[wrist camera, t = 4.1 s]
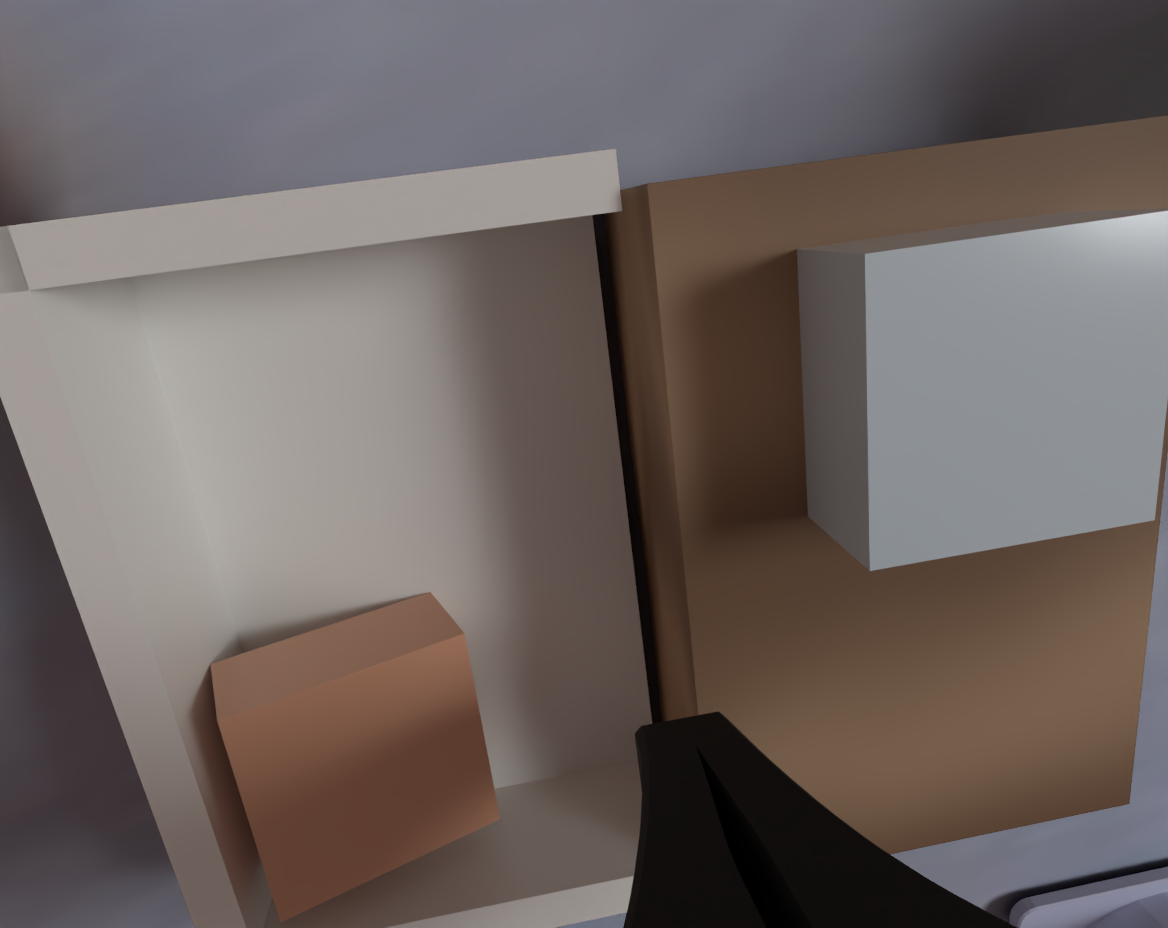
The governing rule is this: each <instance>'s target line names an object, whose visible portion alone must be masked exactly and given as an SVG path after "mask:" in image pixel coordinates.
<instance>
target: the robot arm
mask: <svg viewBox="0 0 1168 928" xmlns="http://www.w3.org/2000/svg"><path fill="white" fill-rule="evenodd" d="M635 741H636V749H637V757H638V765H639V773H640V781H641V790H642V803H641V822H640V834H639V841H638V849H637V856H636V864H635V871H634V878H633V884H632V889H631V895H630V900H629V905H628V910H627V914H626V919H625V923H624V928H1168V867H1163V868H1159V869H1154V870H1150V871H1145V872H1140V873H1136V874H1131V875H1127V876H1122V877H1118V878H1113V879H1109V880H1104V881H1099V882H1095V883H1090V884H1086V885H1081V886H1077V887H1072V888H1067V889H1063V890H1058V891H1054V892H1049V893H1045V894H1040V895H1036V896H1031V897H1027V898H1024V899H1021V900H1020V901H1018V902H1017V903H1016V904H1015V905H1014V906H1013V908H1012V909H1011V913H1010V916H1009V923H1007V922H1005V921H1003V920H1001V919H999V918H997V917H995V916H994V915H992V914H990V913H988V912H986V911H984V910H983V909H981V908H979V907H977V906H975V905H973V904H971V903H970V902H968V901H966V900H964V899H962V898H960V897H959V896H957V895H955V894H953V893H951V892H949V891H948V890H946V889H944V888H943V887H941V886H939V885H937V884H936V883H934V882H932V881H931V880H929V879H927V878H926V877H924V876H922V875H921V874H919V873H918V872H916V871H914V870H913V869H911V868H910V867H908V866H907V865H905V864H904V863H902V862H900V861H899V860H897V859H896V858H894V857H893V856H891V855H890V854H888V853H887V852H885V851H884V850H882V849H881V848H879V847H878V846H877V845H875V844H874V843H872V842H871V841H870V840H868V839H867V838H865V837H864V836H863V835H861V834H860V833H859V832H857V831H856V830H855V829H853V828H852V827H851V826H849V825H848V824H847V823H845V822H844V821H843V820H841V819H840V818H839V817H837V816H836V815H835V814H834V813H832V812H831V811H830V810H829V809H827V808H826V807H825V806H824V805H822V804H821V803H820V802H819V801H817V800H816V799H815V798H814V797H813V796H811V795H810V794H809V793H808V792H807V791H805V790H804V789H803V788H802V787H801V786H800V785H798V784H797V783H796V782H795V781H794V780H793V779H791V778H790V777H789V776H788V775H787V774H786V773H784V772H783V771H782V770H781V769H780V768H779V767H778V766H777V765H775V764H774V763H773V762H772V761H771V760H770V759H769V758H768V757H767V756H766V755H765V754H764V753H762V752H761V751H760V750H759V749H758V748H757V747H756V746H755V745H754V744H753V743H752V742H751V741H750V740H749V739H748V738H747V737H746V736H745V735H744V734H743V733H742V732H741V731H740V730H738V729H737V728H736V727H735V726H734V725H733V724H732V723H731V722H730V721H729V720H728V719H727V718H726V717H725V716H724V715H723V714H721V713H720V712H719V711H717V712H712V713H707V714H702V715H696V716H691V717H686V718H680V719H675V720H670V721H665V722H659V723H654V724H649V725H643V726H641V727H640V728H639V729H638V730H637V731H636V733H635Z"/></svg>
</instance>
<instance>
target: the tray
mask: <svg viewBox="0 0 1168 928" xmlns="http://www.w3.org/2000/svg"><path fill="white" fill-rule="evenodd" d="M618 211H622V204H621V194H620V185H619V176H618V166H617V157H616V149H610V150H602V151H594V152H586V153H579V154H571V155H563V156H555V157H547V158H539V159H531V160H523V161H516V162H508V163H500V164H492V165H484V166H476V167H468V168H460V169H453V170H445V171H437V172H429V173H421V174H413V175H405V176H397V177H390V178H382V179H374V180H366V181H358V182H350V183H342V184H334V185H327V186H319V187H311V188H303V189H295V190H287V191H279V192H271V193H264V194H256V195H248V196H240V197H232V198H224V199H216V200H208V201H201V202H193V203H185V204H177V205H169V206H161V207H153V208H145V209H137V210H130V211H122V212H114V213H106V214H98V215H90V216H82V217H74V218H67V219H59V220H51V221H43V222H35V223H27V224H19V225H11V226H4V227H0V397H1V400H2V403H3V405H4V408H5V411H6V414H7V416H8V419H9V422H10V425H11V427H12V430H13V433H14V436H15V438H16V441H17V444H18V446H19V449H20V452H21V455H22V457H23V460H24V463H25V466H26V468H27V471H28V474H29V476H30V479H31V482H32V485H33V487H34V490H35V493H36V496H37V498H38V501H39V504H40V507H41V509H42V512H43V515H44V517H45V520H46V523H47V526H48V528H49V531H50V534H51V537H52V539H53V542H54V545H55V548H56V550H57V553H58V556H59V558H60V561H61V564H62V567H63V569H64V572H65V575H66V578H67V580H68V583H69V586H70V588H71V591H72V594H73V597H74V599H75V602H76V605H77V608H78V610H79V613H80V616H81V619H82V621H83V624H84V627H85V629H86V632H87V635H88V638H89V640H90V643H91V646H92V649H93V651H94V654H95V657H96V660H97V662H98V665H99V668H100V670H101V673H102V676H103V679H104V681H105V684H106V687H107V690H108V692H109V695H110V698H111V701H112V703H113V706H114V709H115V711H116V714H117V717H118V720H119V722H120V725H121V728H122V731H123V733H124V736H125V739H126V741H127V744H128V747H129V750H130V752H131V755H132V758H133V761H134V763H135V766H136V769H137V772H138V774H139V777H140V780H141V782H142V785H143V788H144V791H145V793H146V796H147V799H148V802H149V804H150V807H151V810H152V813H153V815H154V818H155V821H156V823H157V826H158V829H159V832H160V834H161V837H162V840H163V843H164V845H165V848H166V851H167V853H168V856H169V859H170V862H171V864H172V867H173V870H174V873H175V875H176V878H177V881H178V884H179V886H180V889H181V892H182V894H183V897H184V900H185V903H186V905H187V908H188V911H189V914H190V916H191V919H192V922H193V925H194V927H195V928H555V927H560V926H565V925H569V924H574V923H579V922H583V921H588V920H593V919H598V918H602V917H607V916H612V915H617V914H621V913H626V912H627V910H628V905H629V900H630V895H631V889H632V884H633V878H634V871H635V864H636V856H637V849H638V841H639V834H640V822H641V803H642V790H641V781H640V773H639V765H638V757H637V749H636V741H635V733H636V731H637V730H638V729H639V728H640V727H641V726H643V725H649V724H652V717H651V709H650V701H649V692H648V684H647V675H646V667H645V658H644V650H643V641H642V633H641V624H640V616H639V607H638V599H637V590H636V582H635V573H634V565H633V556H632V548H631V539H630V531H629V522H628V514H627V505H626V497H625V488H624V480H623V471H622V463H621V454H620V446H619V437H618V429H617V420H616V412H615V403H614V395H613V386H612V378H611V369H610V361H609V352H608V344H607V335H606V327H605V318H604V310H603V302H602V293H601V285H600V276H599V268H598V259H597V251H596V242H595V234H594V225H593V217H592V215H596V214H603V213H611V212H618ZM429 592H431V593H432V594H433V596H434V597H435V598H436V599H437V600H438V602H439V603H440V604H441V605H442V607H443V608H444V609H445V610H446V611H447V613H448V614H449V615H450V616H451V617H452V619H453V620H454V621H455V622H456V624H457V625H458V626H459V627H460V628H461V630H462V631H463V632H464V633H465V638H466V643H467V649H468V654H469V659H470V664H471V670H472V675H473V680H474V685H475V690H476V696H477V701H478V706H479V711H480V716H481V722H482V727H483V732H484V737H485V743H486V748H487V753H488V758H489V763H490V769H491V774H492V779H493V784H494V790H495V795H496V800H497V805H498V810H499V816H500V819H499V820H497V821H495V822H493V823H491V824H489V825H487V826H485V827H482V828H480V829H478V830H476V831H474V832H472V833H470V834H468V835H465V836H463V837H461V838H459V839H457V840H455V841H453V842H451V843H448V844H446V845H444V846H442V847H440V848H438V849H436V850H434V851H431V852H429V853H427V854H425V855H423V856H421V857H419V858H417V859H414V860H412V861H410V862H408V863H406V864H404V865H402V866H400V867H398V868H395V869H393V870H391V871H389V872H387V873H385V874H383V875H381V876H378V877H376V878H374V879H372V880H370V881H368V882H366V883H364V884H361V885H359V886H357V887H355V888H353V889H351V890H349V891H347V892H344V893H342V894H340V895H338V896H336V897H334V898H332V899H330V900H327V901H325V902H323V903H321V904H319V905H317V906H315V907H313V908H311V909H308V910H306V911H304V912H302V913H300V914H298V915H296V916H294V917H291V918H289V919H287V920H285V921H283V922H281V923H280V919H279V916H278V913H277V910H276V907H275V903H274V900H273V897H272V894H271V891H270V888H269V884H268V881H267V878H266V875H265V872H264V868H263V865H262V862H261V859H260V856H259V853H258V849H257V846H256V843H255V840H254V837H253V833H252V830H251V827H250V824H249V821H248V818H247V814H246V811H245V808H244V805H243V802H242V799H241V795H240V792H239V789H238V786H237V783H236V779H235V776H234V773H233V770H232V767H231V764H230V760H229V757H228V754H227V751H226V748H225V744H224V741H223V738H222V735H221V732H220V729H219V725H218V722H217V715H216V707H215V698H214V690H213V681H212V673H211V665H210V664H212V663H215V662H218V661H221V660H224V659H227V658H230V657H233V656H236V655H239V654H242V653H245V652H249V651H252V650H255V649H258V648H261V647H264V646H267V645H270V644H273V643H276V642H279V641H282V640H285V639H288V638H291V637H294V636H297V635H300V634H304V633H307V632H310V631H313V630H316V629H319V628H322V627H325V626H328V625H331V624H334V623H337V622H340V621H343V620H346V619H349V618H352V617H355V616H358V615H362V614H365V613H368V612H371V611H374V610H377V609H380V608H383V607H386V606H389V605H392V604H395V603H398V602H401V601H404V600H407V599H410V598H413V597H416V596H420V595H423V594H426V593H429Z"/></svg>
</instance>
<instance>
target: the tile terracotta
mask: <svg viewBox="0 0 1168 928" xmlns="http://www.w3.org/2000/svg"><path fill="white" fill-rule="evenodd" d="M210 665H211V673H212V681H213V690H214V698H215V707H216V715H217V722H218V725H219V729H220V732H221V735H222V738H223V741H224V744H225V748H226V751H227V754H228V757H229V760H230V764H231V767H232V770H233V773H234V776H235V779H236V783H237V786H238V789H239V792H240V795H241V799H242V802H243V805H244V808H245V811H246V814H247V818H248V821H249V824H250V827H251V830H252V833H253V837H254V840H255V843H256V846H257V849H258V853H259V856H260V859H261V862H262V865H263V868H264V872H265V875H266V878H267V881H268V884H269V888H270V891H271V894H272V897H273V900H274V903H275V907H276V910H277V913H278V916H279V919H280V923H281V922H283V921H285V920H287V919H289V918H291V917H294V916H296V915H298V914H300V913H302V912H304V911H306V910H308V909H311V908H313V907H315V906H317V905H319V904H321V903H323V902H325V901H327V900H330V899H332V898H334V897H336V896H338V895H340V894H342V893H344V892H347V891H349V890H351V889H353V888H355V887H357V886H359V885H361V884H364V883H366V882H368V881H370V880H372V879H374V878H376V877H378V876H381V875H383V874H385V873H387V872H389V871H391V870H393V869H395V868H398V867H400V866H402V865H404V864H406V863H408V862H410V861H412V860H414V859H417V858H419V857H421V856H423V855H425V854H427V853H429V852H431V851H434V850H436V849H438V848H440V847H442V846H444V845H446V844H448V843H451V842H453V841H455V840H457V839H459V838H461V837H463V836H465V835H468V834H470V833H472V832H474V831H476V830H478V829H480V828H482V827H485V826H487V825H489V824H491V823H493V822H495V821H497V820H499V819H500V816H499V810H498V805H497V800H496V795H495V790H494V784H493V779H492V774H491V769H490V763H489V758H488V753H487V748H486V743H485V737H484V732H483V727H482V722H481V716H480V711H479V706H478V701H477V696H476V690H475V685H474V680H473V675H472V670H471V664H470V659H469V654H468V649H467V643H466V638H465V633H464V632H463V631H462V630H461V628H460V627H459V626H458V625H457V624H456V622H455V621H454V620H453V619H452V617H451V616H450V615H449V614H448V613H447V611H446V610H445V609H444V608H443V607H442V605H441V604H440V603H439V602H438V600H437V599H436V598H435V597H434V596H433V594H432V593H431V592H429V593H426V594H423V595H420V596H416V597H413V598H410V599H407V600H404V601H401V602H398V603H395V604H392V605H389V606H386V607H383V608H380V609H377V610H374V611H371V612H368V613H365V614H362V615H358V616H355V617H352V618H349V619H346V620H343V621H340V622H337V623H334V624H331V625H328V626H325V627H322V628H319V629H316V630H313V631H310V632H307V633H304V634H300V635H297V636H294V637H291V638H288V639H285V640H282V641H279V642H276V643H273V644H270V645H267V646H264V647H261V648H258V649H255V650H252V651H249V652H245V653H242V654H239V655H236V656H233V657H230V658H227V659H224V660H221V661H218V662H215V663H212V664H210Z"/></svg>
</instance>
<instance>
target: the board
mask: <svg viewBox="0 0 1168 928" xmlns="http://www.w3.org/2000/svg"><path fill="white" fill-rule="evenodd" d="M620 194H621V204H622V211H618V212H611V213H604V218H605V227H606V235H607V244H608V253H609V262H610V271H611V280H612V288H613V297H614V306H615V315H616V324H617V332H618V341H619V350H620V359H621V368H622V377H623V385H624V394H625V403H626V412H627V421H628V430H629V438H630V447H631V456H632V465H633V474H634V482H635V491H636V500H637V509H638V518H639V527H640V535H641V544H642V553H643V562H644V571H645V580H646V588H647V597H648V606H649V615H650V624H651V633H652V641H653V650H654V659H655V668H656V677H657V685H658V694H659V703H660V712H661V721H662V722H665V721H670V720H675V719H680V718H686V717H691V716H696V715H702V714H707V713H712V712H717V711H719V712H720V713H721V714H723V715H724V716H725V717H726V718H727V719H728V720H729V721H730V722H731V723H732V724H733V725H734V726H735V727H736V728H737V729H738V730H740V731H741V732H742V733H743V734H744V735H745V736H746V737H747V738H748V739H749V740H750V741H751V742H752V743H753V744H754V745H755V746H756V747H757V748H758V749H759V750H760V751H761V752H762V753H764V754H765V755H766V756H767V757H768V758H769V759H770V760H771V761H772V762H773V763H774V764H775V765H777V766H778V767H779V768H780V769H781V770H782V771H783V772H784V773H786V774H787V775H788V776H789V777H790V778H791V779H793V780H794V781H795V782H796V783H797V784H798V785H800V786H801V787H802V788H803V789H804V790H805V791H807V792H808V793H809V794H810V795H811V796H813V797H814V798H815V799H816V800H817V801H819V802H820V803H821V804H822V805H824V806H825V807H826V808H827V809H829V810H830V811H831V812H832V813H834V814H835V815H836V816H837V817H839V818H840V819H841V820H843V821H844V822H845V823H847V824H848V825H849V826H851V827H852V828H853V829H855V830H856V831H857V832H859V833H860V834H861V835H863V836H864V837H865V838H867V839H868V840H870V841H871V842H872V843H874V844H875V845H877V846H878V847H879V848H881V849H882V850H884V851H885V852H887V853H888V854H894V853H898V852H903V851H908V850H913V849H917V848H922V847H927V846H932V845H936V844H941V843H946V842H951V841H955V840H960V839H965V838H970V837H974V836H979V835H984V834H988V833H993V832H998V831H1003V830H1007V829H1012V828H1017V827H1022V826H1026V825H1031V824H1036V823H1041V822H1045V821H1050V820H1055V819H1060V818H1064V817H1069V816H1074V815H1079V814H1083V813H1088V812H1093V811H1098V810H1102V809H1107V808H1112V807H1117V806H1121V805H1126V804H1129V801H1130V792H1131V783H1132V773H1133V764H1134V755H1135V746H1136V737H1137V727H1138V718H1139V709H1140V700H1141V691H1142V681H1143V672H1144V663H1145V654H1146V645H1147V635H1148V626H1149V617H1150V608H1151V599H1152V589H1153V580H1154V571H1155V562H1156V553H1157V543H1158V534H1159V525H1160V516H1161V507H1162V497H1163V488H1164V479H1165V470H1166V461H1167V451H1168V401H1167V410H1166V419H1165V429H1164V438H1163V448H1162V457H1161V466H1160V476H1159V485H1158V494H1157V504H1156V513H1155V520H1153V521H1148V522H1142V523H1136V524H1131V525H1125V526H1120V527H1114V528H1108V529H1103V530H1097V531H1092V532H1086V533H1080V534H1075V535H1069V536H1064V537H1058V538H1052V539H1047V540H1041V541H1036V542H1030V543H1024V544H1019V545H1013V546H1008V547H1002V548H996V549H991V550H985V551H979V552H974V553H968V554H963V555H957V556H951V557H946V558H940V559H935V560H929V561H923V562H918V563H912V564H907V565H901V566H895V567H890V568H884V569H879V570H873V571H869V570H868V569H867V568H866V567H865V566H863V565H862V564H861V563H860V562H859V561H858V560H857V559H856V558H854V557H853V556H852V555H851V554H850V553H849V552H848V551H846V550H845V549H844V548H843V547H842V546H841V545H840V544H839V543H837V542H836V541H835V540H834V539H833V538H832V537H831V536H830V535H828V534H827V533H826V532H825V531H824V530H823V529H822V528H820V527H819V526H818V525H817V524H816V523H815V522H814V521H813V520H811V519H810V518H809V517H808V507H807V483H806V458H805V434H804V410H803V386H802V361H801V337H800V313H799V289H798V264H797V249H801V248H808V247H815V246H822V245H829V244H836V243H843V242H850V241H857V240H864V239H872V238H879V237H886V236H893V235H900V234H907V233H914V232H921V231H928V230H935V229H943V228H950V227H957V226H964V225H971V224H978V223H985V222H992V221H999V220H1007V219H1014V218H1021V217H1028V216H1035V215H1042V214H1049V213H1056V212H1063V211H1087V210H1126V209H1165V208H1168V115H1167V116H1159V117H1151V118H1144V119H1136V120H1128V121H1121V122H1113V123H1106V124H1098V125H1090V126H1083V127H1075V128H1068V129H1060V130H1052V131H1045V132H1037V133H1029V134H1022V135H1014V136H1007V137H999V138H991V139H984V140H976V141H968V142H961V143H953V144H946V145H938V146H930V147H923V148H915V149H908V150H900V151H892V152H885V153H877V154H869V155H862V156H854V157H847V158H839V159H831V160H824V161H816V162H808V163H801V164H793V165H786V166H778V167H770V168H763V169H755V170H747V171H740V172H732V173H725V174H717V175H709V176H702V177H694V178H687V179H679V180H671V181H664V182H656V183H648V184H644V185H640V186H636V187H632V188H628V189H624V190H620Z"/></svg>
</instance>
